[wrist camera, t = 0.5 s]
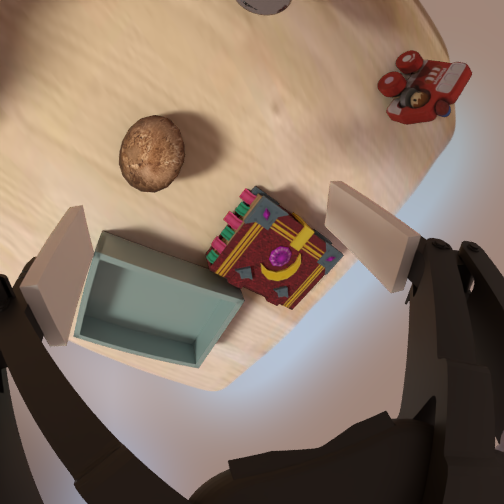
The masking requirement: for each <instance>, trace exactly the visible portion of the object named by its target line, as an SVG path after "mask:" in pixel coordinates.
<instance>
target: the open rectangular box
mask: <svg viewBox="0 0 504 504" xmlns="http://www.w3.org/2000/svg"><path fill="white" fill-rule="evenodd" d="M244 301H245V300H244V298H243V295H242V293H241V290H240V288H238V287H236V286H234V285H232V284H230V283H228V280H227V279H226V278H224V277H222V276H220V275H218V274H216V273H214V272H212V271H210V270H209V269H207V268H204V267H201V266H198V265H195V264H192V263H190V262H187V261H184V260H181V259H178V258H175V257H173V256H170V255H167V254H164V253H161V252H159V251H156V250H153V249H150V248H148V247H145V246H142V245H139V244H137V243H134V242H131V241H129V240H126V239H123V238H120V237H118V236H115V235H112V234H110V233H107V232H104V231H102V233H101V236H100V238H99V241H98V244H97V247H96V249H95V252H94V256H93V259H92V262H91V266H90V269H89V273H88V276H87V280H86V284H85V288H84V292H83V296H82V300H81V304H80V308H79V313H78V317H77V322H76V327H75V332H74V337H76V338H79V339H82V340H86V341H89V342H92V343H95V344H99V345H102V346H106V347H109V348H113V349H116V350H120V351H124V352H127V353H131V354H135V355H139V356H143V357H147V358H151V359H156V360H160V361H165V362H169V363H174V364H179V365H184V366H189V367H194V368H199V367H200V366H201V364H202V363H203V361H204V360H205V358H206V357H207V355H208V354H209V353H210V351H211V350H212V348H213V347H214V345H215V344H216V342H217V341H218V339H219V338H220V336H221V335H222V334H223V332H224V331H225V329H226V328H227V326H228V325H229V323H230V322H231V320H232V319H233V317H234V316H235V314H236V313H237V311H238V310H239V308H240V307H241V305H242V304H243V302H244Z"/></svg>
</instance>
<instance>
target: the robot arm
mask: <svg viewBox="0 0 504 504" xmlns="http://www.w3.org/2000/svg"><path fill="white" fill-rule="evenodd" d="M325 227H326V228H327V229H328V230H329V231H330V232H331V233H332V234H334V235H335V236H336V237H337V238H338V239H339V240H340V241H341V242H342V243H343V244H344V245H345V246H346V247H347V248H348V249H349V250H350V251H351V252H352V253H353V254H354V255H355V256H356V257H357V258H358V259H359V260H360V261H361V262H362V263H363V265H364V266H365V267H366V268H367V269H368V270H369V271H370V272H371V273H372V274H373V275H374V276H375V277H376V278H377V279H378V280H379V281H380V282H381V283H382V284H383V285H384V286H385V288H386V289H387V290H388V291H389V292H390V293H394V292H398V291H402V290H404V287H405V284H406V281H407V278H408V279H409V280H410V281H411V282H412V286H411V288H410V291H409V294H408V296H407V299H406V302H405V304H407V303H408V301H410V310H409V311H410V312H409V334H408V349H407V361H406V371H405V380H404V389H403V396H402V403H401V409H400V413H399V416H398V418H397V419H391V418H390V416H389V415H388V413H387V411H384V412H382V413H380V414H378V415H376V416H373V417H371V418H369V419H366V420H364V421H362V422H359V423H356V424H354V425H353V426H351V427H350V428H348V429H347V430H345V431H344V432H343V433H341V434H340V435H338V436H337V437H336V438H334V439H332V440H331V441H329V442H328V443H327V444H325V445H323V446H322V447H319V448H315V449H303V450H288V451H270V452H266V453H262V454H258V455H253V456H249V457H244V458H239V459H234V460H229V461H228V463H229V468H230V469H228V470H226V471H224V472H222V473H220V474H218V475H216V476H214V477H213V478H211V479H209V480H208V481H207V482H205V483H204V484H203V485H202V486H201V487H199V488H198V489H197V490H196V491H195V492H194V494H193V495H192V496H191V497H190V498H189V500H187V499H186V498H184V497H183V496H182V495H181V494H179V493H178V492H176V491H175V490H174V489H173V488H171V487H170V486H169V485H168V484H167V483H165V482H164V481H163V480H162V479H161V478H159V477H158V476H157V475H156V474H155V473H153V472H152V471H151V470H150V469H149V468H148V467H147V466H146V465H144V464H143V463H142V462H141V461H140V460H139V459H138V458H137V457H136V456H135V455H134V454H133V453H132V452H131V451H130V450H129V449H127V448H126V447H125V446H124V445H123V444H122V443H121V442H120V441H119V440H118V439H117V438H116V437H115V436H114V435H113V434H112V433H111V432H110V431H109V430H108V429H107V428H106V426H105V425H104V424H103V423H102V422H101V421H100V420H99V419H98V418H97V416H96V415H95V414H94V413H93V412H92V411H91V409H90V408H89V407H88V406H87V405H86V403H85V402H84V401H83V400H82V398H81V397H80V396H79V395H78V393H77V392H76V391H75V390H74V388H73V387H72V386H71V384H70V383H69V382H68V380H67V379H66V378H65V376H64V375H63V373H62V372H61V370H60V369H59V368H58V366H57V365H56V363H55V362H54V360H53V359H52V357H51V356H50V354H49V353H48V351H47V350H46V348H45V347H44V345H43V343H42V339H43V336H44V337H45V339H46V340H47V342H48V344H49V345H50V346H66V345H67V342H68V338H69V334H70V330H71V326H72V322H73V318H74V315H75V311H76V308H77V304H78V301H79V297H80V294H81V291H82V288H83V284H84V281H85V278H86V275H87V272H88V269H89V266H90V263H91V260H92V258H93V255H94V250H93V247H92V243H91V239H90V235H89V231H88V227H87V222H86V218H85V214H84V209H83V205H81V206H75V207H70V208H69V209H68V210H67V212H66V213H65V214H64V216H63V217H62V219H61V220H60V222H59V223H58V224H57V226H56V227H55V229H54V230H53V232H52V233H51V235H50V236H49V238H48V239H47V241H46V243H45V244H44V246H43V247H42V249H41V251H40V252H39V254H38V255H37V257H33V258H32V259H31V260H30V261H29V262H28V263H27V264H26V265H25V267H24V269H23V270H22V273H21V274H20V275H19V277H18V279H17V281H16V282H15V284H14V286H13V288H12V287H11V285H10V282H9V280H8V278H7V276H6V275H3V274H0V504H44V503H43V501H42V499H41V496H40V494H39V491H38V489H37V487H36V484H35V481H34V479H33V476H32V474H31V471H30V468H29V465H28V462H27V459H26V456H25V453H24V450H23V446H22V443H21V439H20V436H19V432H18V428H17V424H16V420H15V416H14V411H13V406H12V401H11V396H10V390H9V384H8V378H7V371H6V367H8V368H9V371H10V373H11V375H12V377H13V379H14V382H15V384H16V386H17V388H18V390H19V392H20V394H21V396H22V398H23V400H24V402H25V404H26V405H27V407H28V409H29V411H30V413H31V414H32V416H33V418H34V420H35V421H36V423H37V425H38V426H39V428H40V430H41V431H42V433H43V435H44V436H45V438H46V439H47V441H48V442H49V444H50V445H51V447H52V448H53V450H54V451H55V453H56V454H57V456H58V457H59V459H60V460H61V461H62V463H63V464H64V465H65V467H66V468H67V470H68V471H69V472H70V474H71V475H72V476H73V478H74V480H75V482H74V486H75V488H76V489H77V491H78V492H79V494H80V495H81V496H82V498H83V499H84V500H85V501H86V502H87V503H88V504H504V277H503V276H502V274H501V273H500V272H499V270H498V269H497V267H496V266H495V265H494V263H493V262H492V261H491V259H490V258H489V257H488V255H487V254H486V253H485V252H484V250H483V249H482V248H481V247H480V246H478V245H477V244H476V243H474V242H469V241H463V242H462V244H461V247H460V249H459V251H457V250H452V248H451V246H450V245H449V244H447V243H446V242H444V241H443V240H440V239H435V238H429V239H427V240H426V239H425V238H423V237H422V236H421V235H420V234H418V233H417V232H416V231H414V230H413V229H412V228H410V227H409V226H408V225H406V224H405V223H404V222H402V221H401V220H399V219H398V218H396V217H395V216H394V215H392V214H391V213H389V212H388V211H386V210H385V209H384V208H382V207H381V206H379V205H378V204H376V203H375V202H373V201H372V200H370V199H369V198H367V197H366V196H364V195H363V194H361V193H359V192H358V191H356V190H355V189H353V188H352V187H350V186H348V185H347V184H345V183H344V182H342V181H330V186H329V195H328V203H327V211H326V219H325ZM473 281H474V288H473V290H472V292H471V291H470V287H471V285H472V283H473ZM495 437H496V439H497V441H498V443H499V445H498V446H497V447H496V448H495Z"/></svg>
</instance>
